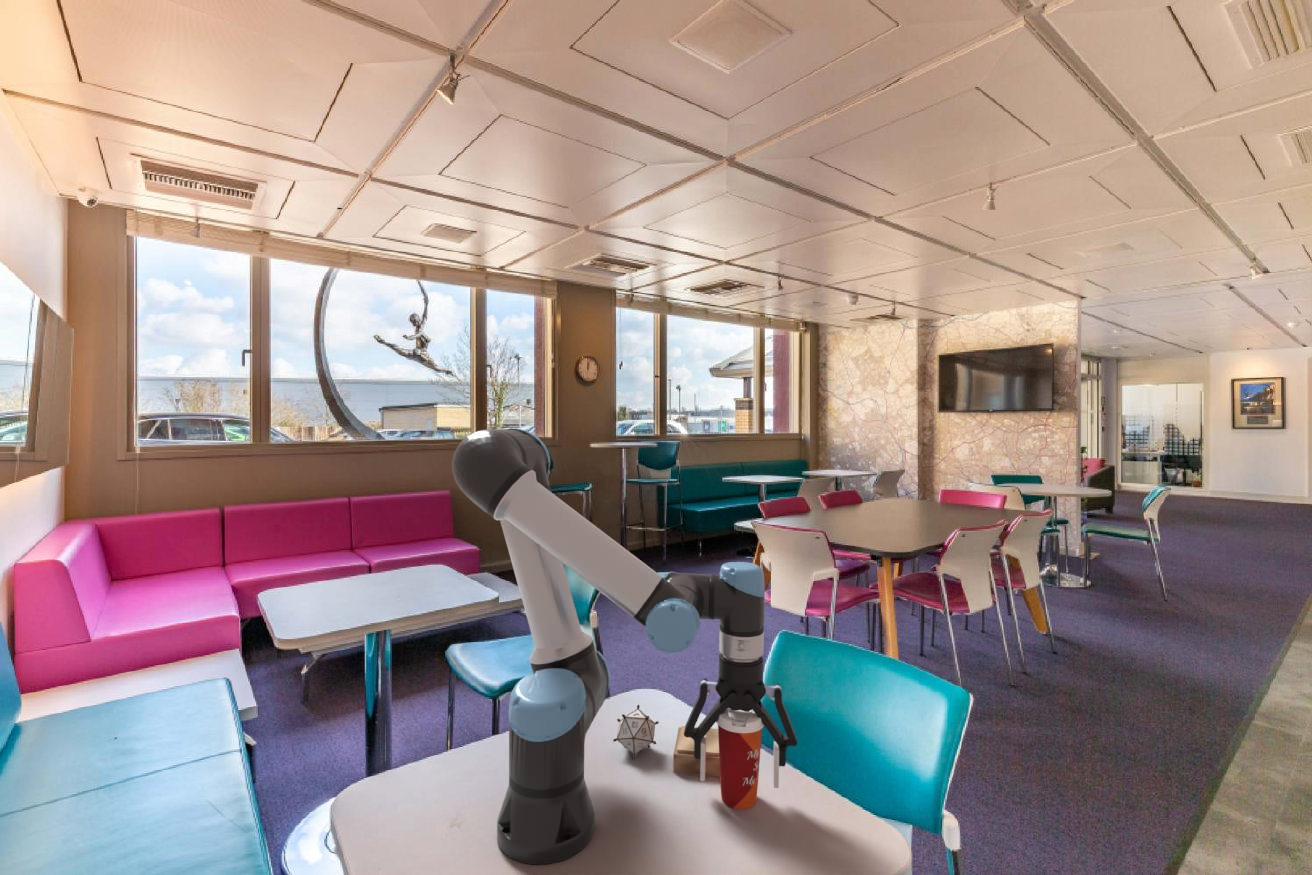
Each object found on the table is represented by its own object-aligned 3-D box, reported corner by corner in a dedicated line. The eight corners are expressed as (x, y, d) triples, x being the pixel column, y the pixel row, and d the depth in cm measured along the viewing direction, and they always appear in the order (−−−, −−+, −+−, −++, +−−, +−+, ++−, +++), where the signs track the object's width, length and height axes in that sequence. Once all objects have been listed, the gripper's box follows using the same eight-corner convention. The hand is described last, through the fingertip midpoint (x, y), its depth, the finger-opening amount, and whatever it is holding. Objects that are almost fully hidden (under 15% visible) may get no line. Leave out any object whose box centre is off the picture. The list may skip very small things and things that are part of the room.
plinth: (673, 772, 112) (673, 750, 111) (678, 743, 121) (678, 724, 121) (727, 777, 110) (728, 755, 110) (728, 748, 120) (729, 728, 120)
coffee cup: (762, 817, 99) (763, 727, 99) (712, 810, 101) (713, 721, 100) (763, 787, 107) (765, 703, 107) (717, 781, 109) (718, 699, 109)
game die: (633, 764, 121) (637, 710, 126) (665, 762, 116) (669, 707, 122) (601, 756, 115) (607, 700, 121) (634, 754, 111) (639, 696, 116)
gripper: (668, 658, 101) (667, 785, 102) (815, 668, 98) (813, 799, 98) (673, 642, 109) (672, 761, 109) (810, 650, 105) (808, 773, 106)
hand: (739, 779), depth 104 cm, fingers open, 12 cm apart
